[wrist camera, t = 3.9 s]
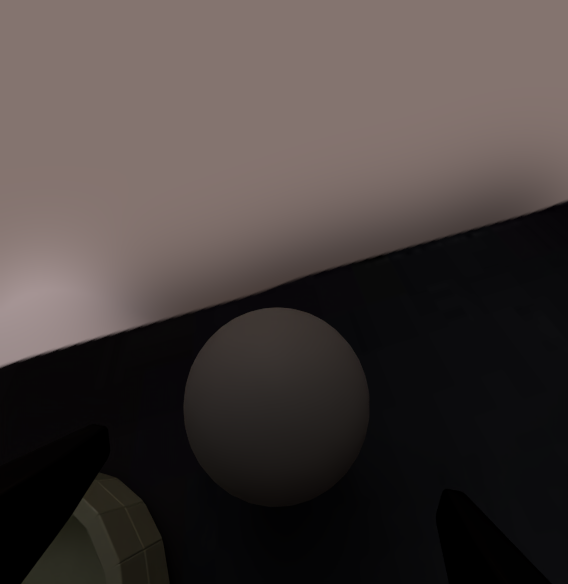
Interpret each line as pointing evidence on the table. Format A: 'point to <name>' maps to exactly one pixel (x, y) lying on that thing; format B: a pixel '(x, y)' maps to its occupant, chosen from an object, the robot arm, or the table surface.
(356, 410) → the lightbulb
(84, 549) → the bowl
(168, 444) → the table surface
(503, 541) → the robot arm
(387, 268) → the table surface
